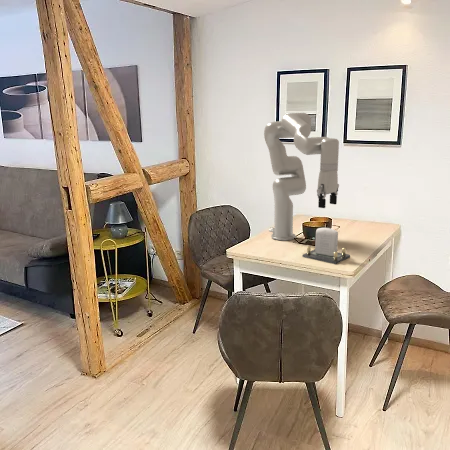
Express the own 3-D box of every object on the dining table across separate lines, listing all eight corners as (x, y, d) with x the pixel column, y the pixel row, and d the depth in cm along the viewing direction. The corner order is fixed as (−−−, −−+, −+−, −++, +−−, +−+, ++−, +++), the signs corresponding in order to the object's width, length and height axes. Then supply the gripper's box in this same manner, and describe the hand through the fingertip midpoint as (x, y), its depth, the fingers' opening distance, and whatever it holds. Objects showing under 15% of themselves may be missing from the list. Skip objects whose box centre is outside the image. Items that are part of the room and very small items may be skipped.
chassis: (302, 256, 216) (302, 247, 214) (317, 250, 225) (317, 241, 224) (335, 264, 205) (336, 254, 203) (349, 256, 214) (350, 247, 213)
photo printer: (338, 254, 213) (339, 228, 210) (334, 257, 210) (335, 230, 207) (317, 251, 219) (318, 225, 216) (313, 253, 216) (314, 227, 213)
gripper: (331, 164, 213) (329, 201, 218) (310, 169, 201) (309, 208, 205) (346, 165, 209) (344, 203, 213) (326, 170, 196) (324, 210, 200)
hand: (327, 205), depth 209 cm, fingers open, 9 cm apart
